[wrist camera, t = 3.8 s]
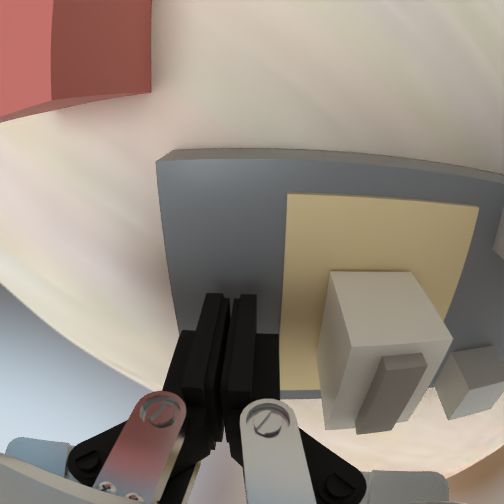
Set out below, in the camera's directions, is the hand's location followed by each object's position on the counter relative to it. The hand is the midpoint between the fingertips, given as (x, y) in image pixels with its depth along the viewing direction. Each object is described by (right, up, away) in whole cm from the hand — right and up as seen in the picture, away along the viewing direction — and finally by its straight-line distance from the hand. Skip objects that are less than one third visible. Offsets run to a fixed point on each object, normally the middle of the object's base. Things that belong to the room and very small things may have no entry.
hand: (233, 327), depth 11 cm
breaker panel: (+8, +1, +2) cm, 8 cm away
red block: (-5, +10, -2) cm, 12 cm away
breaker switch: (+5, 0, 0) cm, 5 cm away
